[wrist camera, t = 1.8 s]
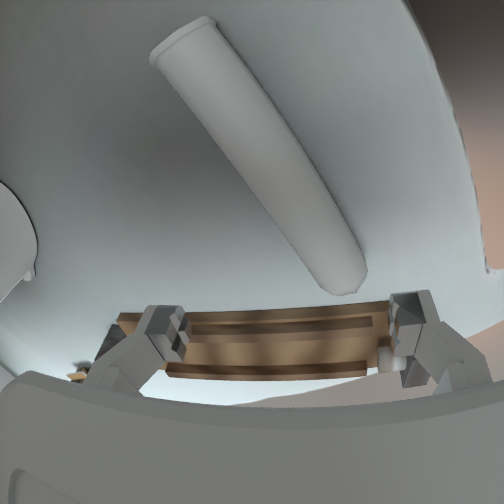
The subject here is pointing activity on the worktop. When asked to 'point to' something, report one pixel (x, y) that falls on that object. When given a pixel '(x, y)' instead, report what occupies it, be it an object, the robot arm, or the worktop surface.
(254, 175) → the tube
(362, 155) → the worktop surface
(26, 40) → the worktop surface
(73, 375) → the architectural model
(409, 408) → the robot arm
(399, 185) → the worktop surface
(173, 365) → the shaft bed
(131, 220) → the worktop surface
